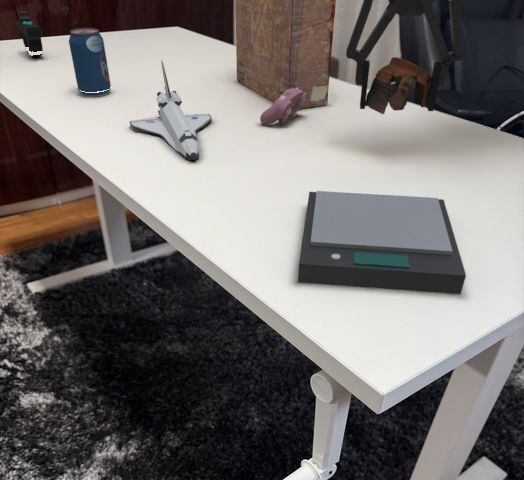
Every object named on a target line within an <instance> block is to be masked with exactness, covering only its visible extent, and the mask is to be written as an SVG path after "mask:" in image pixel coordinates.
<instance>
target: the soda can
mask: <svg viewBox="0 0 524 480" xmlns="http://www.w3.org/2000/svg"><path fill="white" fill-rule="evenodd" d="M69 33H70V34H69V39H68V45H69V50H70V55H71V60H72V64H73V65H72V66H73V70H74V75H75V80H76V86H77V89H78V91H79V90H81V91H85V92H97V91H103V90H107V89H109V88H110V87H111V88H112V84H111V78H110V73H109V65H108V60H107V54H106V48H105V42H104V38H103V36H102V34H101V33H100V30H99V29H98V28H93V27H81V28H80V27H79V28H73V29H71V30H70V31H69ZM111 88H110V89H109V90H107V91H104V92H99V93H85V92H81V91H79V92H80V94H81V95H82V96H83V97H87V98H99V97H100V98H101V97H104V96H107V95H109V93H110V91H111Z"/></svg>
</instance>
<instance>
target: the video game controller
mask: <svg viewBox="0 0 524 480" xmlns="http://www.w3.org/2000/svg"><path fill="white" fill-rule="evenodd" d="M306 98H307V94H306V93H305V92H304V91H303V90H299V89H298V88H291V89H287V90H286V91H285V92H284V93H283V95H281V96H280V97H279V98H278V99H277V100H276V101H275V102H273V104H271V106H269V107H268V108H267V109H265V110H264V111H263V112H261V114H260V118H259V120H260V123H261V124H262V125H264V126H269V125H273V124H274V123H276V122H279V123H281V124H284V123H285V122H286V121H288V119H289V120H291V119H293V118H294V117H295V116H296V115H297V112H298V111H299V110H300V109H299V108H300V107H301V106H302V105H303V104H304V102H305V100H306Z"/></svg>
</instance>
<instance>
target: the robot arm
mask: <svg viewBox="0 0 524 480" xmlns="http://www.w3.org/2000/svg"><path fill="white" fill-rule="evenodd" d="M373 1H374V0H363V1H362V4H361V7H360V10H359V13H358V15H357V18H356V21H355V24H354V27H353V30H352V33H351V35H350V38H349V41H348V44H347V47H346V51H345V52H346V53H345V54H346V55H345V56H346V58H347V59H349V60H350V59H351V60H353V61H354V62H355V63H356V68H355V79H354V82H355V85H356V86H361V91H360V98H359V109H360V110H365V109H366V106H365V103H366V98H367V93H368V86H369V85H368V84H369V76H370V75H369V74H370V65H371V63H370V60H368V57H369V56H370V54H371V53H372V51H373V49H374V48H375V46H376V45H377V43H378V42H379V41H380V38H381V37H382V35H383V34H384V33H385V31H386V29H387V28H388V26H389V24H390V23H391V22H392V21H393V19H394V18H395V16H396V15H398V16H408V15H412V16H415V17H417V16H418V17H421V16H422V15H424V16H425V20H426V23H427V26H428V28H429V29H428V30H429V32H430V35H431V37H432V40H433V43H434V46H435V49H436V51H437V53H438V57H439V61H434V62H433V69H432V73H431V78H432V80H431V81H430V83H429V84H430V85H429V95H428V99H427V102H426V109H427V111H428V112H434V109H435V105H436V98H437V92H438V88H444V87H445V85H446V82H447V78H448V71H449V67H450V65H451V64H453V63H454V62H457V61H458V62H459V61H463V59H464V55H465V53H464V42H463V41H464V40H463V26H462V24H463V23H462V9H461V2H462V0H447V1H448V6H449V7H448V9H449V19H450V21H449V22H450V23H449V24H450V34H451V47H452V48H451V51H448V48H447V46H446V43H445V40H444V39H445V38H444V37H443V34H442V31H441V28H440V25H439V22H438V19H437V16H436V13H435V10H434V7H433V4H434V3H435V1H436V0H387V1H388V5H387V6H386V8H385V9H384V11H383V13H382V15H381V16H380V18H379V20H378V21H377V23H376V24H375V26H374V28H373V29H372V31H371V32H370V34H369V36H368V37H367V39H366V40H365V42H364V43H363V45H362V47H361V48H360V50H359V49H357V48H358V46H359V43H360V40H361V37H362V34H363V32H364V30H365V29H364V28H365V26H366V24H367V20H368V18H369V15H370V12H371V9H372V6H373Z"/></svg>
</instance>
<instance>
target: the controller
mask: <svg viewBox="0 0 524 480" xmlns="http://www.w3.org/2000/svg"><path fill="white" fill-rule="evenodd" d="M18 13H19V14H20V15H21V16H20V17H19V19H18V20H16V24H17V27H18V30H19V33H20V35H21V38H22V42H23V45H24V48H25V47H29V51H31V52H32V51H33V52H37V51H43V52H44V49H43V48H44V47H43V42H42V36H43V34H44V33H43V29H42V28H41V27H40V25H38V24H37V22H36V21H35V20H33V19H32V18H31V17H29V16H28V15H27V14H28V11H27V10H20V11H19V12H18ZM33 56H40V57H41V56H43V54H40V55H33Z"/></svg>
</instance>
